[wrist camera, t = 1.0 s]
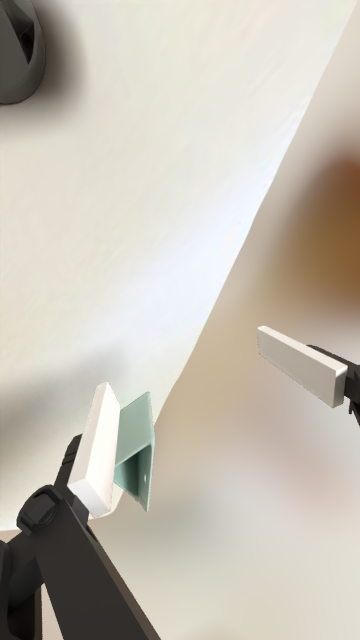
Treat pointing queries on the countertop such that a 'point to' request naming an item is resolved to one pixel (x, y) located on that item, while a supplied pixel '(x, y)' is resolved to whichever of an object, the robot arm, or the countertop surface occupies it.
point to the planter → (135, 450)
